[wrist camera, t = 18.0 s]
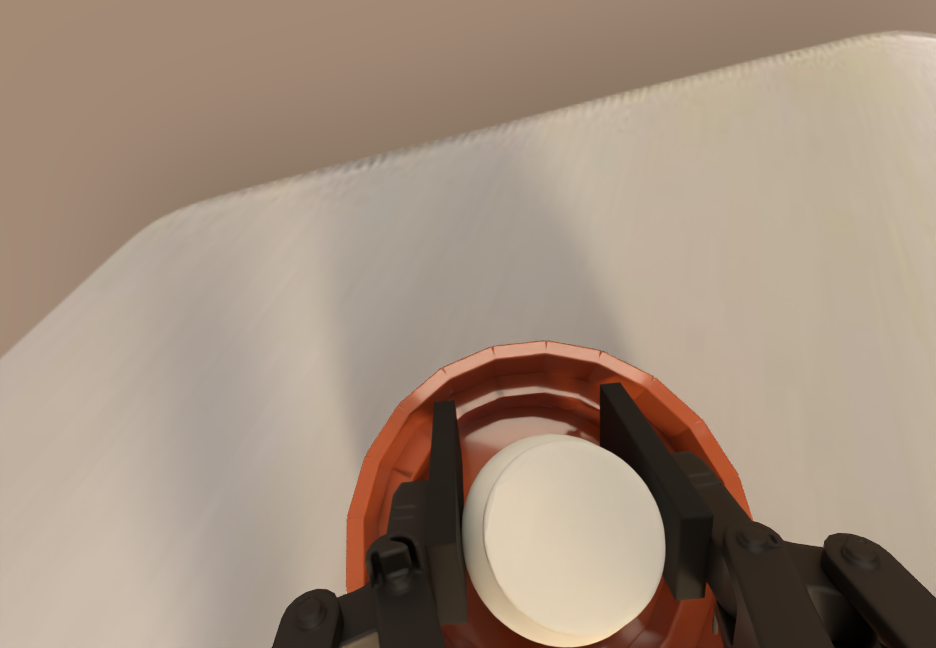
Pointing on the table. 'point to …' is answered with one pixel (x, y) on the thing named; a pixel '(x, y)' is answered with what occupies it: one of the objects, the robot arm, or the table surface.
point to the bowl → (517, 417)
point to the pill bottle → (562, 540)
